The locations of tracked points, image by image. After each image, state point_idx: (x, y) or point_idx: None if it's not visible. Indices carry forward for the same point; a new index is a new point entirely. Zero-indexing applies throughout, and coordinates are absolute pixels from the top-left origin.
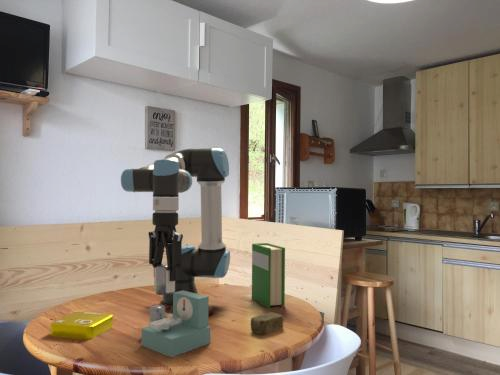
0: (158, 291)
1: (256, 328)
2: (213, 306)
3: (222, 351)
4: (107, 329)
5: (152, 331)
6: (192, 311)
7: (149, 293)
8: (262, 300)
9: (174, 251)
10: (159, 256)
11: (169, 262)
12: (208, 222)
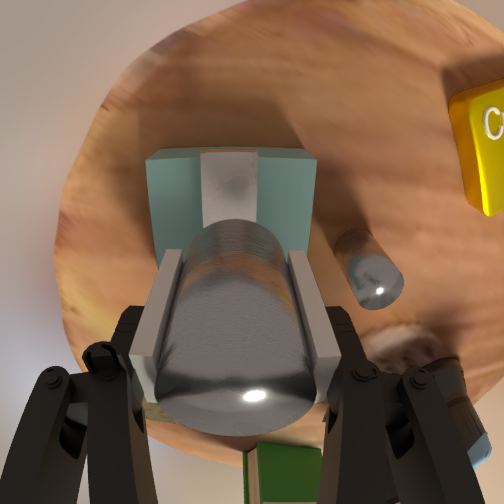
0: (224, 229)
1: None
2: None
3: (111, 261)
4: (463, 176)
5: (259, 163)
6: None
7: (493, 361)
8: (280, 450)
9: (1, 496)
10: (330, 471)
11: (92, 417)
12: None
